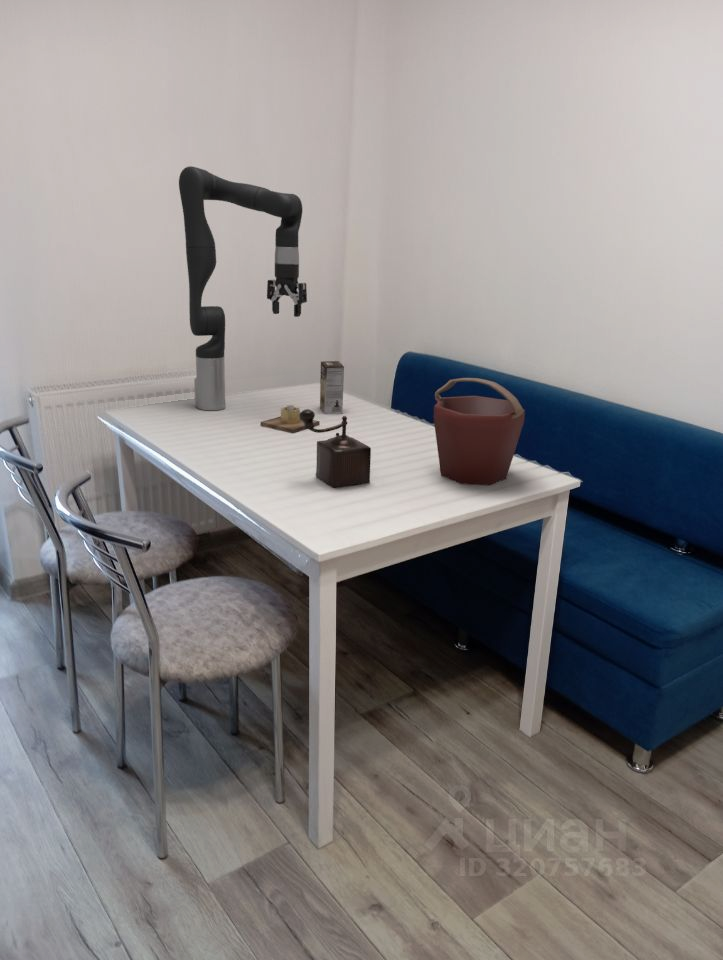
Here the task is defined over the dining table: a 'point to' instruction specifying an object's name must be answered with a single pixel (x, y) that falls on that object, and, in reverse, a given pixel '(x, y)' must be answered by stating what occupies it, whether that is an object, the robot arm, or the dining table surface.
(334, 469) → the manual coffee grinder
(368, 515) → the dining table surface
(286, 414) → the gold octagonal ring
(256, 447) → the dining table surface
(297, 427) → the post stand
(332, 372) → the coffee box
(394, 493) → the dining table surface
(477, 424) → the bucket
